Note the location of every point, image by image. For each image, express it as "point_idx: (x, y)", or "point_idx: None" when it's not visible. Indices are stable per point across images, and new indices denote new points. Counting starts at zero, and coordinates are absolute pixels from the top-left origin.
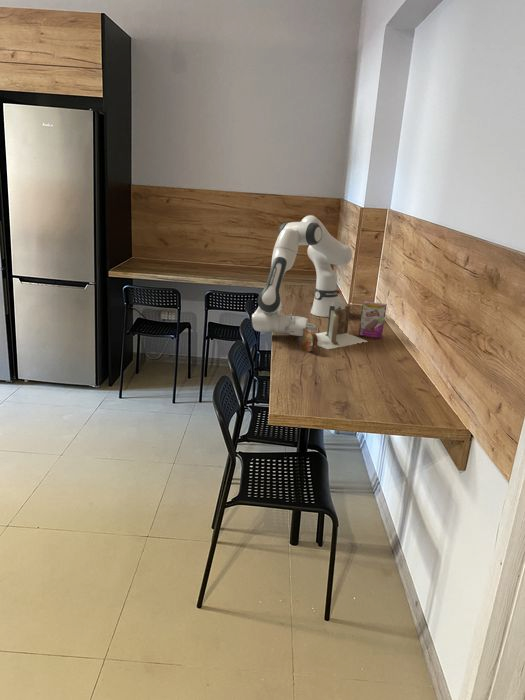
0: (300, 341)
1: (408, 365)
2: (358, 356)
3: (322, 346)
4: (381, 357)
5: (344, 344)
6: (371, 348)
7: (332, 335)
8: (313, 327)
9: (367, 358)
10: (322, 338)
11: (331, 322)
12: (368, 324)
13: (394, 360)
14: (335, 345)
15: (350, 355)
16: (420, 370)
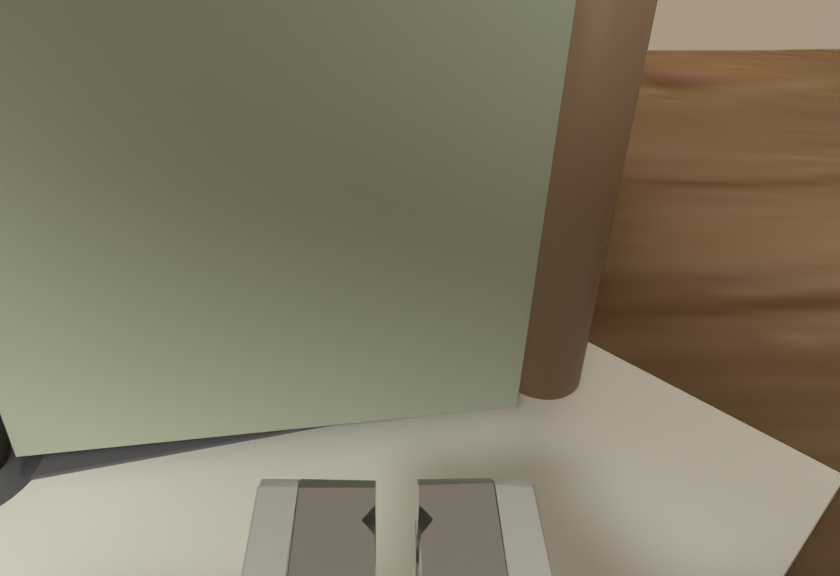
0: None
1: (729, 68)
2: (791, 227)
3: (773, 551)
4: (671, 131)
5: None
6: None
7: (590, 287)
8: (541, 562)
9: (787, 186)
10: (204, 571)
11: (187, 146)
12: None
13: (682, 96)
14: None
15: (826, 272)
16: (775, 50)
